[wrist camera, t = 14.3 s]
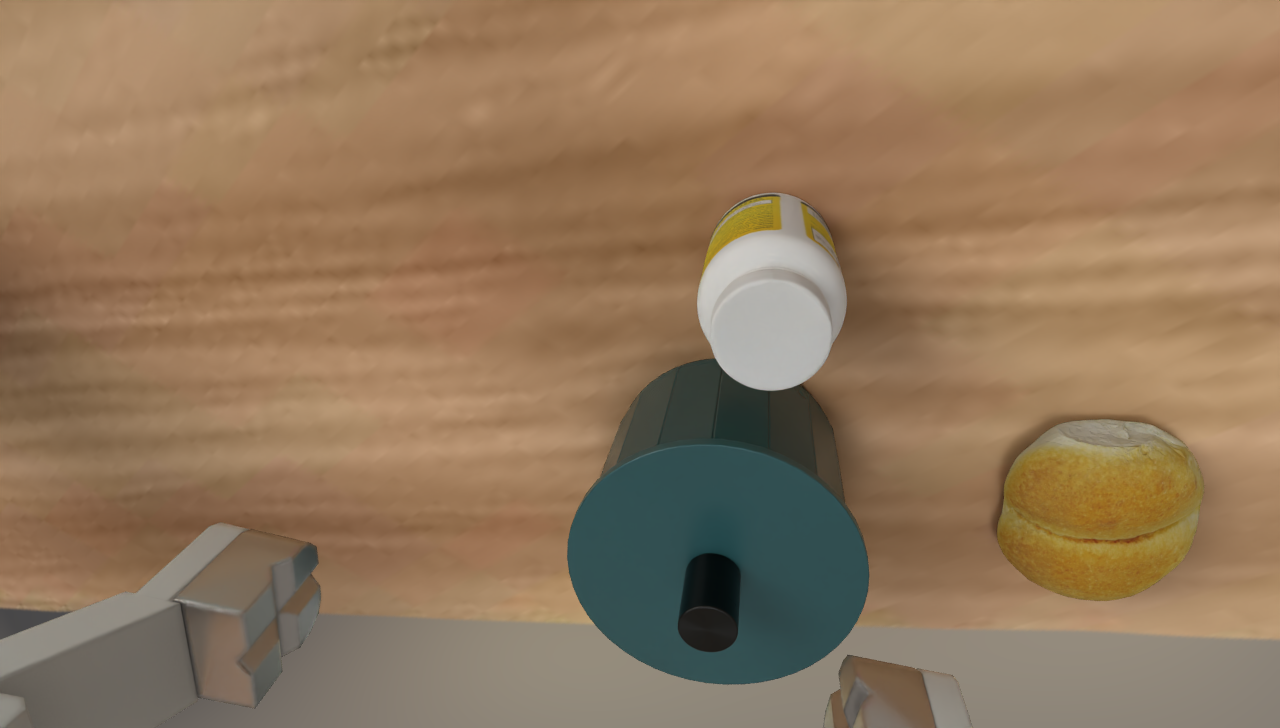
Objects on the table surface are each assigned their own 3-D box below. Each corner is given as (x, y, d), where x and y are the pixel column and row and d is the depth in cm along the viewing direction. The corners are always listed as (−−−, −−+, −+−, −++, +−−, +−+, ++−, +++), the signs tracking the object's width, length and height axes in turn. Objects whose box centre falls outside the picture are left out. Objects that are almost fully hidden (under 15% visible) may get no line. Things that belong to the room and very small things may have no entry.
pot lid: (561, 631, 33) (535, 706, 29) (588, 402, 28) (561, 458, 24) (824, 691, 32) (832, 776, 28) (904, 465, 27) (925, 534, 23)
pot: (607, 519, 40) (569, 635, 32) (634, 338, 35) (596, 423, 27) (807, 562, 39) (816, 691, 31) (861, 381, 34) (888, 482, 26)
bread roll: (985, 568, 37) (1008, 625, 34) (1005, 414, 34) (1033, 460, 30) (1164, 574, 36) (1208, 635, 32) (1205, 414, 32) (1260, 462, 29)
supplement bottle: (693, 286, 34) (666, 378, 25) (733, 173, 31) (718, 231, 22) (804, 324, 33) (816, 430, 25) (853, 214, 31) (885, 288, 22)
